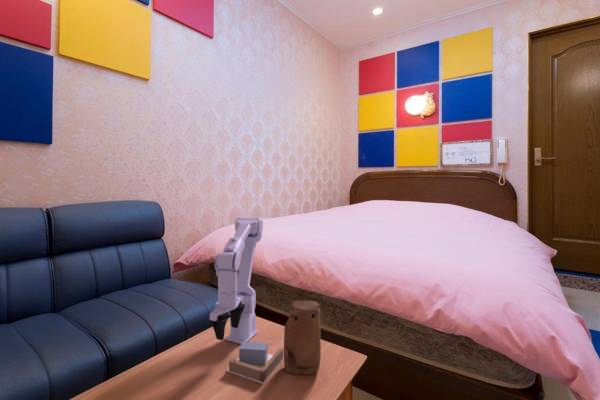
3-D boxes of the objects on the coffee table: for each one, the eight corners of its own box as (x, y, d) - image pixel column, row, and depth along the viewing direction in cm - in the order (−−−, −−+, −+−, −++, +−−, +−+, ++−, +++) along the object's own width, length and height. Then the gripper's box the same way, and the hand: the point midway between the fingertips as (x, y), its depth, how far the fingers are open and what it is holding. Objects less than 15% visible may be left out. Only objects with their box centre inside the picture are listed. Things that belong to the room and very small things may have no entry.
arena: (249, 349, 96) (249, 339, 96) (283, 359, 91) (283, 348, 91) (226, 371, 85) (226, 360, 85) (263, 383, 80) (263, 372, 80)
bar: (267, 357, 91) (267, 342, 90) (265, 366, 87) (265, 350, 86) (242, 356, 91) (242, 341, 91) (239, 364, 87) (239, 348, 87)
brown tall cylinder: (317, 360, 91) (318, 298, 90) (321, 376, 84) (322, 309, 82) (283, 361, 90) (284, 299, 89) (283, 377, 83) (284, 310, 81)
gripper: (230, 280, 97) (230, 319, 98) (201, 296, 83) (201, 341, 84) (248, 284, 94) (248, 324, 95) (221, 301, 81) (221, 347, 82)
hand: (227, 332), depth 89 cm, fingers open, 7 cm apart
